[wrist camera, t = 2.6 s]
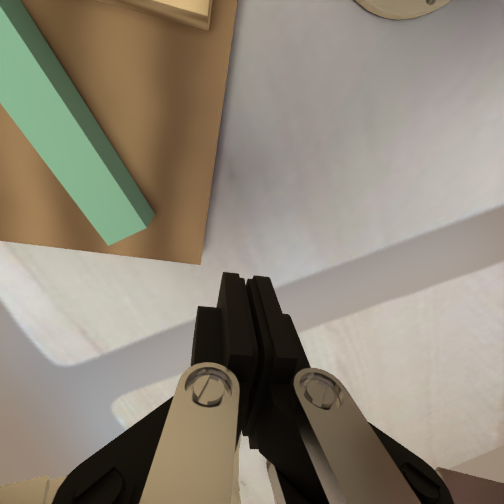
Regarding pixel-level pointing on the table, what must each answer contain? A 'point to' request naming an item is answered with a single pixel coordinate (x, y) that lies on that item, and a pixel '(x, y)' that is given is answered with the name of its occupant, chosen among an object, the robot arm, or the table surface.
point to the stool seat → (129, 120)
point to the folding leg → (65, 129)
